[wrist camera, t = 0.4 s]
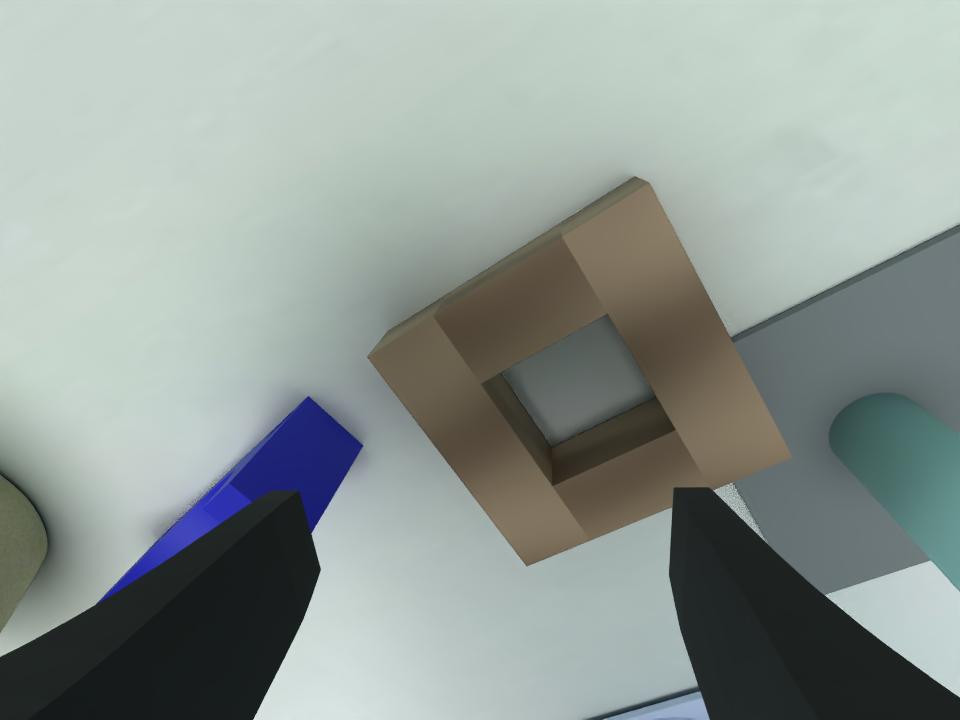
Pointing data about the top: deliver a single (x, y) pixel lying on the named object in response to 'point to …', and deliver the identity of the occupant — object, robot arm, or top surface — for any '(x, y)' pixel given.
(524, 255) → the socket block
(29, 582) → the plant pot
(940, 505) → the peg
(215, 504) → the cable clip
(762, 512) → the mat
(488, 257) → the top surface
